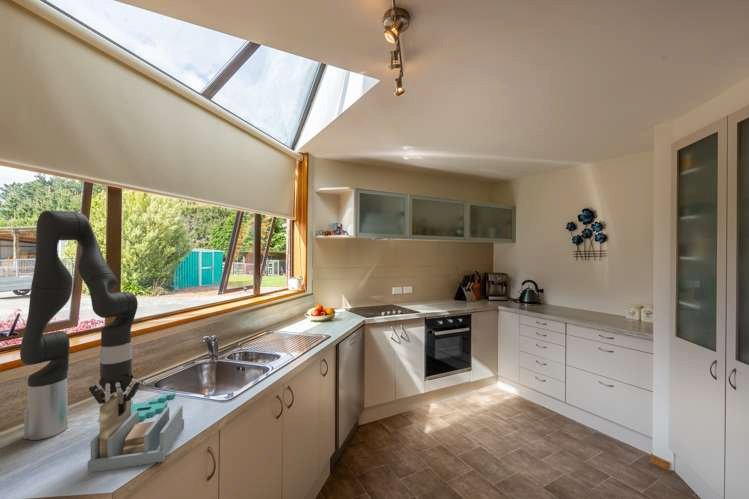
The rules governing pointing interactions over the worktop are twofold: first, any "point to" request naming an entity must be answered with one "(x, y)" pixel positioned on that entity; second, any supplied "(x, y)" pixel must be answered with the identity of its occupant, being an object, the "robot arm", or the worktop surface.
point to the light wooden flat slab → (111, 421)
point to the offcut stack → (136, 438)
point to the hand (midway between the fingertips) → (116, 414)
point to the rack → (156, 435)
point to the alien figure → (150, 407)
